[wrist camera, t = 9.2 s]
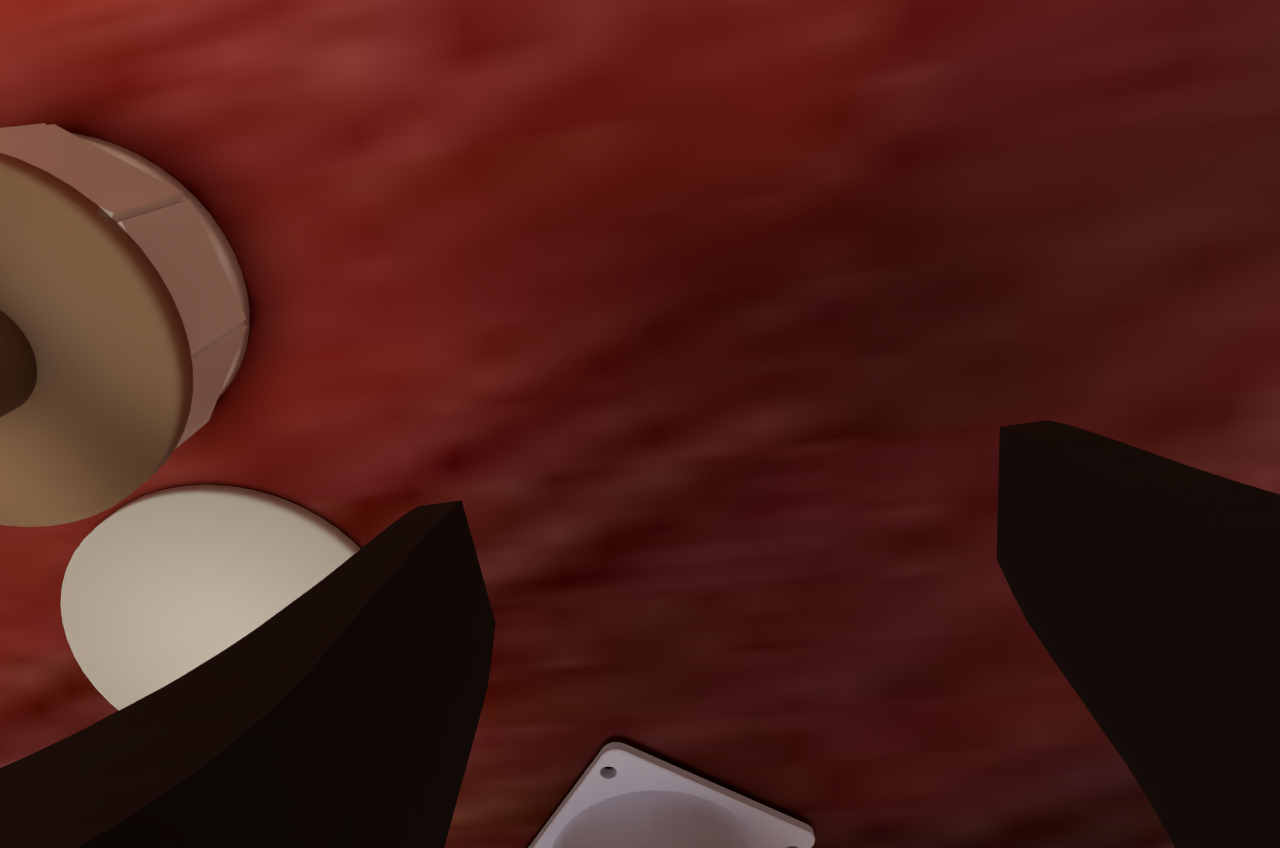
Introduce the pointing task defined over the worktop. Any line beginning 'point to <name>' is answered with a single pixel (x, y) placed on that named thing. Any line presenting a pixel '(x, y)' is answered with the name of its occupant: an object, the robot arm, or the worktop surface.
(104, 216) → the lid
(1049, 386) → the worktop surface
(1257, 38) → the worktop surface
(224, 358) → the bowl
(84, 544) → the coaster
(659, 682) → the worktop surface
